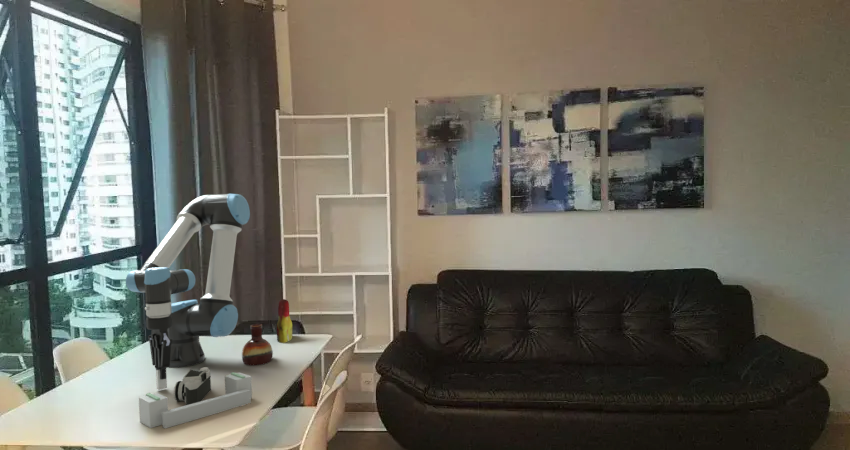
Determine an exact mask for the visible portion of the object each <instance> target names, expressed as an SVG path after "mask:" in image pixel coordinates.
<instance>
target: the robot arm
mask: <svg viewBox="0 0 850 450" xmlns="http://www.w3.org/2000/svg"><path fill="white" fill-rule="evenodd" d="M250 217H251V212H250V205H249V203H248V201H247V199H246V197H244V196H243V195H242V194H240V193H239V194H238V193H232V192H231V193H219V194H217V193H215V194H214V193H213V194H210V193H209V194H203V195H200V196H199V197H198V196H197V197H196V198H194V199H192V200H191V201H190V202H189V203H187V204H186V205H185V206H184V207H183V208H182V209H181V210H180V212H179V213H178V214H177V216H176V221H175V223H174V224H173V225H172V227H171V228H170V230H169V231H168V232H167V233H166V235H165V236H164V237H163V238H162V239H161V242H160V243H159V244H158V245H157V246H156V248H155V249H154V250H153V252H152V253H151V255H150V256H149V257H148V258H147V259H146V261H145V262H144V263H143V264H142V267H141V268H140V269H133V270H131V271H129V272H128V273H127V274H126V277H125V285H126V287H127V289H128V290H129V291H131V292H134V293H145V307H144V311H145V315H146V318H145V321H146V322H145V323H146V330H151V332H150V335H148V336H147V338H148V343H149V348H150V355H151V362H152V363H151V364H152V366H154V368H155V377H156V378H155V381H156V390H158V391H160V390H163V389H167V388H168V379H167V377H168V376H167V375H168V373H167V369H168V368H174V369H175V368H186V367H191V366H194V365H195V366H196V365H198V364H201V363H203V362H204V361H205V359H206V355H205V353H204V352H205V351H204V350H203V347H202V345H201V342H200V337H210V338H211V337H213V338H219V337H227V336H229V335H230V334H232V332H234V330H235V328H236V325H237V323H238V319H239V312H238V309H237V307H236V306H235V305H234V300H233V299H232V298H231V297H230V295H231V286H232V277H233V270H234V263H235V262H234V261H235V254H236V253H235V252H236V245H237V244H236V243H237V239H238V237H237V236H238V234H239V233H240V232H242V230H243V229H242V228H243V225H246V224H247V223H248V222H249V220H250ZM207 225H209V228H210V229H211V230H212V232H213V233H212V241H211V247H210V249H211V250H210V257H209V264H208V271H207V279H206V285H205V294H204V295H203V296H202V297H200V299H199V300H198V299H188V300H183V301H182V300H181V301H178V302H177V301H175V302H172V297H171V295H175V294H180V293H185V292H188V291H190V290H192V289H193V288H194V287H195V285H196V276H195V274H194V272H193V271H191V269H187V268H185V269H182V268H181V269H178V270H177V269H175V270H170V267H171V266H172V264H173V263H174V261H175V260H176V259H177V258H178V257H179V255H180V253H181V252H182V251H183V249H184V248H185V247H186V245H187V244H188V242H189V241H190V240H191V238H192V237H193V236H194V234H195V233H197V232H199V231H200V230H201V229H202V227H204V226H207ZM198 301H199V302H198Z"/></svg>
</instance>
